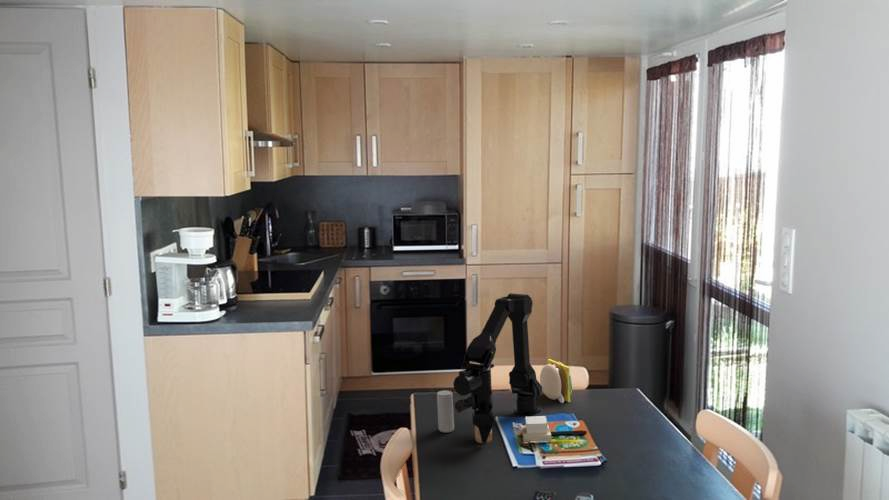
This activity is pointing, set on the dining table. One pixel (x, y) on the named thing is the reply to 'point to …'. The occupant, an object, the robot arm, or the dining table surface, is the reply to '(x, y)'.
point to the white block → (536, 425)
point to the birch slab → (535, 435)
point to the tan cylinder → (478, 437)
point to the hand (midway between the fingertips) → (483, 436)
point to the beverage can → (445, 411)
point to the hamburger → (556, 381)
